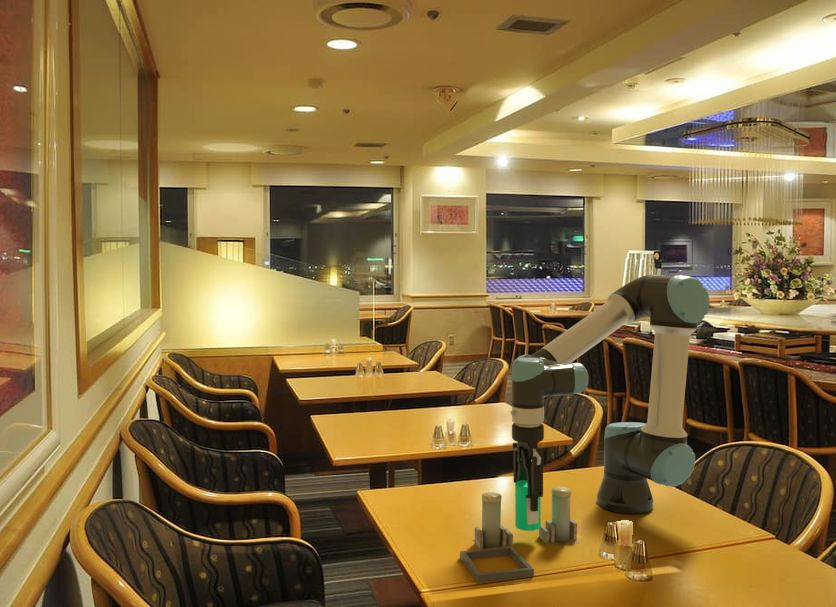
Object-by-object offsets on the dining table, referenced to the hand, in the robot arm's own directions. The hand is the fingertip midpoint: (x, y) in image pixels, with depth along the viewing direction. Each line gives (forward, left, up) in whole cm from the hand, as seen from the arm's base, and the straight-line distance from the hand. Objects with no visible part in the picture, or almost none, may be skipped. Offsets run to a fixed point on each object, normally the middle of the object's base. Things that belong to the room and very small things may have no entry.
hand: (527, 518), depth 173 cm
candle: (0, 0, -2) cm, 2 cm away
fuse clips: (0, +2, -7) cm, 7 cm away
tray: (+12, +12, -7) cm, 18 cm away
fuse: (+9, 0, -6) cm, 11 cm away
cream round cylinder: (-9, 0, -6) cm, 10 cm away
